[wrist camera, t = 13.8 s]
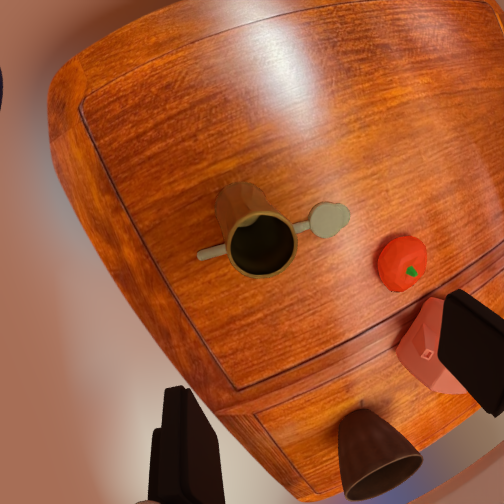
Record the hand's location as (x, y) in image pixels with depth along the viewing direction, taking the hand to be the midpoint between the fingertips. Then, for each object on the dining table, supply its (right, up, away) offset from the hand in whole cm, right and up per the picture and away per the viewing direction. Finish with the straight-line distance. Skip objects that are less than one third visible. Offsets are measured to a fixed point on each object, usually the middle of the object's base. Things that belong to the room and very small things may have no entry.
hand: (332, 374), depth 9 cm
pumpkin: (+17, +4, +32) cm, 36 cm away
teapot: (+28, -9, +38) cm, 48 cm away
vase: (-4, +9, +26) cm, 28 cm away
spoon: (0, +6, +28) cm, 28 cm away
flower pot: (+18, -29, +43) cm, 55 cm away
